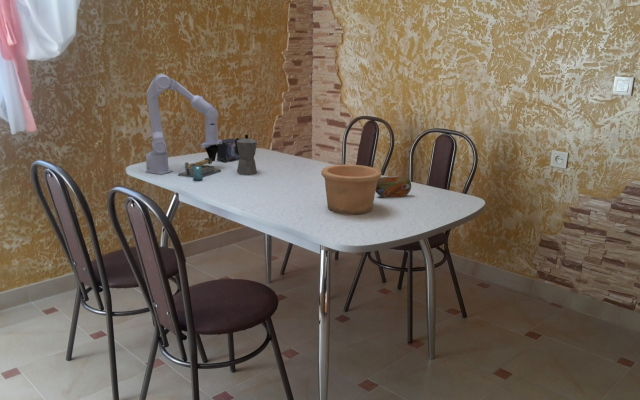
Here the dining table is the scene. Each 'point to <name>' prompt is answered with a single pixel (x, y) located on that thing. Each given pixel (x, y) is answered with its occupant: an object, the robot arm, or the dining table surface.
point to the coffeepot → (246, 155)
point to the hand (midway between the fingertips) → (212, 161)
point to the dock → (206, 170)
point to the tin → (393, 186)
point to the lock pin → (201, 162)
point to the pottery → (350, 188)
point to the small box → (227, 151)
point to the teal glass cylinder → (197, 173)
